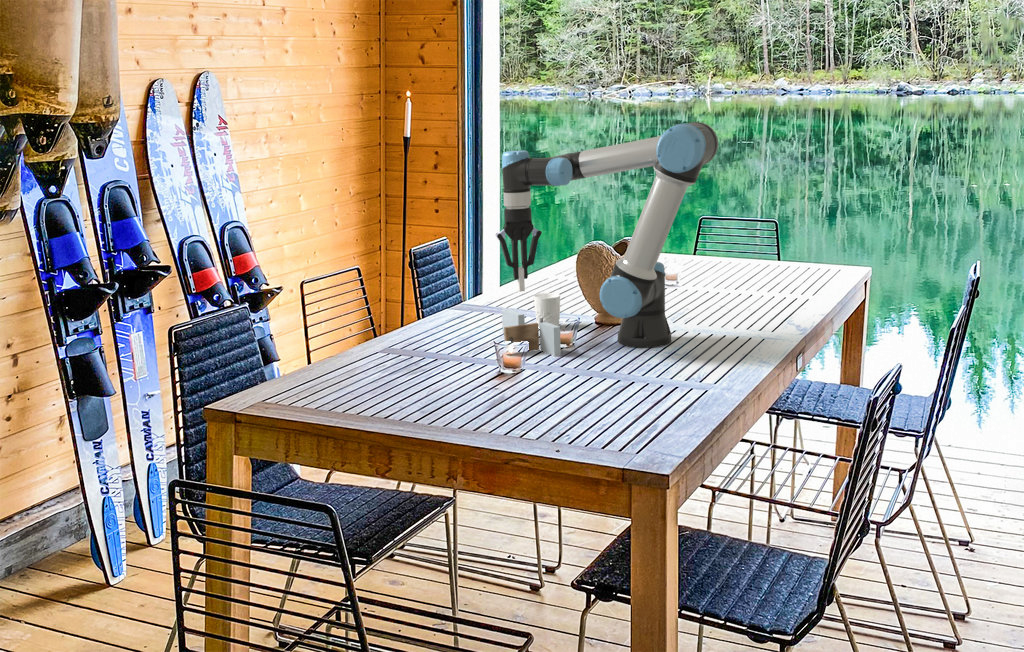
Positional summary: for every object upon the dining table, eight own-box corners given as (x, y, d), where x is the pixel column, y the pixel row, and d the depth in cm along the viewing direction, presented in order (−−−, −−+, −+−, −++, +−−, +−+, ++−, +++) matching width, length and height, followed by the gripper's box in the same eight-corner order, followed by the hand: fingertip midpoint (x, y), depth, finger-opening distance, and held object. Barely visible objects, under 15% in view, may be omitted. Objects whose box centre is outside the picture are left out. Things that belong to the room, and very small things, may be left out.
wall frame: (560, 355, 303) (559, 323, 301) (554, 356, 302) (553, 324, 300) (508, 335, 329) (507, 305, 327) (502, 336, 328) (501, 306, 326)
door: (537, 348, 310) (536, 322, 308) (541, 350, 308) (540, 324, 306) (505, 353, 306) (504, 327, 304) (508, 355, 304) (507, 328, 302)
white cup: (551, 332, 330) (550, 299, 328) (529, 329, 335) (528, 296, 333) (566, 326, 337) (565, 294, 334) (544, 324, 341) (543, 292, 339)
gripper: (537, 204, 313) (540, 286, 318) (491, 207, 310) (496, 290, 315) (543, 206, 306) (546, 290, 311) (497, 210, 303) (501, 294, 308)
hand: (521, 290), depth 313 cm, fingers closed
